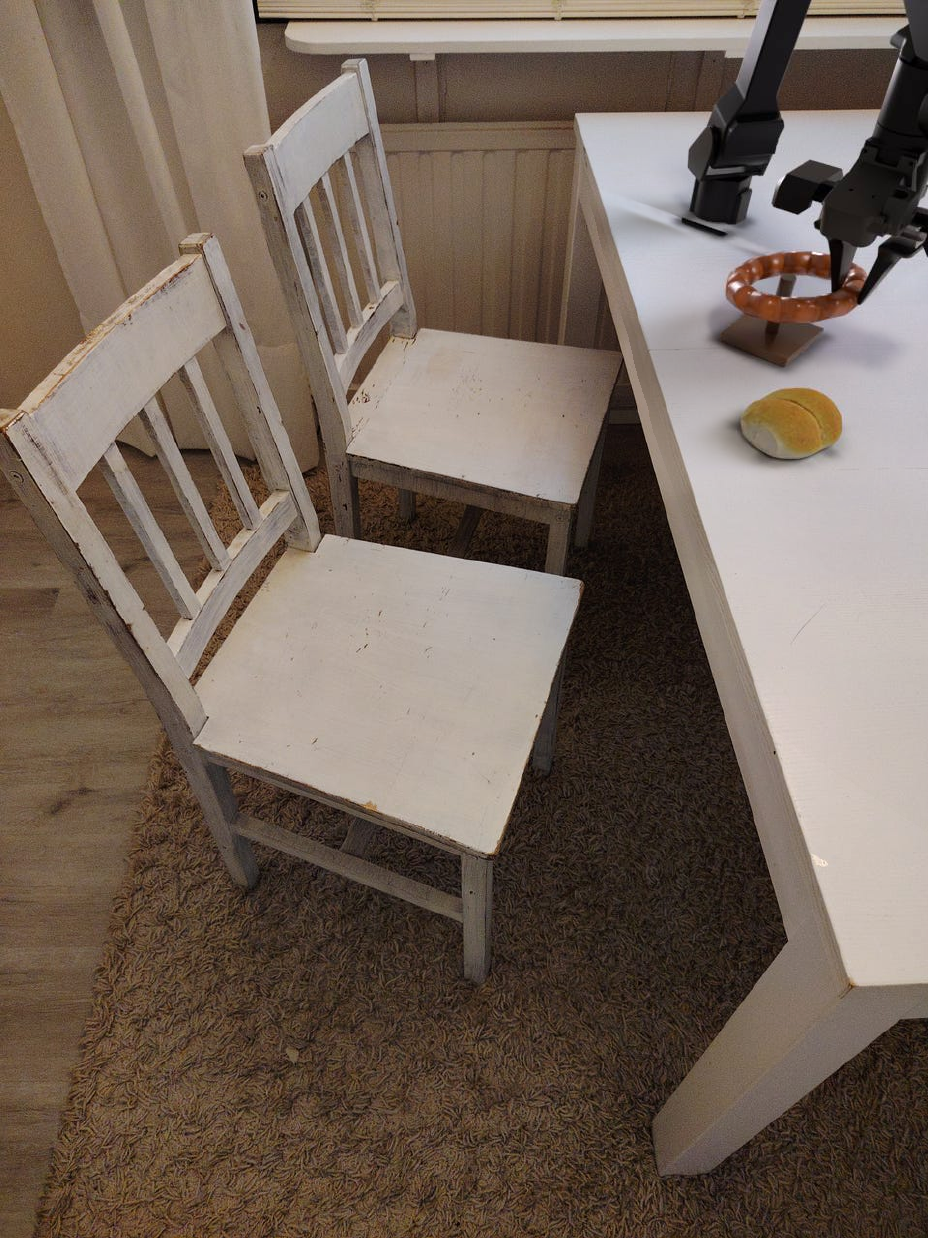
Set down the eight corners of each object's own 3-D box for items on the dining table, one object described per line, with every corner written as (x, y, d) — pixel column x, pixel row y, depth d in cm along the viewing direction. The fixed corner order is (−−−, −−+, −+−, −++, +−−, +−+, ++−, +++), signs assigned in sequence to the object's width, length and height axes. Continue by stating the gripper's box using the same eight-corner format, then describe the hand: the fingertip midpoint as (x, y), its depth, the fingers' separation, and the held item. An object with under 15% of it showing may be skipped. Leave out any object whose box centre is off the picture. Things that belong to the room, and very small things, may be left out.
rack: (718, 339, 87) (734, 278, 82) (757, 311, 91) (774, 250, 86) (784, 367, 84) (804, 305, 78) (821, 336, 87) (843, 275, 82)
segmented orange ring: (698, 307, 84) (700, 284, 82) (769, 261, 90) (772, 239, 88) (822, 339, 76) (827, 315, 75) (890, 286, 82) (896, 263, 81)
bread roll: (852, 438, 76) (868, 403, 73) (787, 473, 73) (801, 438, 70) (787, 396, 80) (799, 361, 77) (723, 427, 77) (732, 392, 74)
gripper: (764, 124, 68) (722, 297, 80) (986, 185, 59) (901, 368, 71) (828, 89, 73) (779, 257, 85) (1041, 141, 64) (953, 319, 76)
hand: (847, 298), depth 79 cm, fingers closed on segmented orange ring, 2 cm apart
